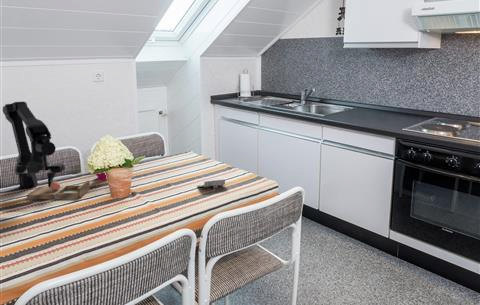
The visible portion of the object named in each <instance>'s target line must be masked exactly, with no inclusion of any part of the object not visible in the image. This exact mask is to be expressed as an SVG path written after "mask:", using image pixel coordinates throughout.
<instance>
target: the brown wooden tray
mask: <svg viewBox="0 0 480 305" xmlns="http://www.w3.org/2000/svg"><path fill="white" fill-rule="evenodd" d="M90 190H91V188H90V180H86V181H85V182H84V183H82V184H81V185H79V184H78V185H76V184H75V185H65V186H60V188H59V189H58V190H56V191H54V190H52V189H51V188H49V186H39V187H36V188H35V189H34V190H32V191H30V192H29V193H27V194H26V199H27V200H63V199H64V200H65V199H67V200H72V199H74V200H76V199H82V198H83V197H84V196H86V195H87V194H88V192H90Z"/></svg>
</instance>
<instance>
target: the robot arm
mask: <svg viewBox="0 0 480 305" xmlns="http://www.w3.org/2000/svg"><path fill="white" fill-rule="evenodd" d="M2 113H3V115H4V116H5V119H6V120H7V121H8V122H9V123H10V124H11V127H12V131H13V135H14V139H15V144H16V148H17V152H18V155H17V158H16V160H15V161H16V165H15V168H14V173H15V176H18V181H19V186H17V188H18V189H32V188H34V189H36V188H37V185H39V183H38V176H37V174H38V173H39V172H40V171H48V172H46V176H47V185H48V186H47V187H49V188H50V185H51V183H52V182H54V178H55V176H56V174H58V173H62V172H63V171H65V170H66V167H65V166H66V165H64V163H54V164H52V165H50V163H49V162H48V156H51V155H53V154H54V153H55V152H56V148H57V147H56V146H55V144H54V143H53V142H52V141H51V139H52V134H51V132H50V130H49V128H48V126H47V125H46V123H44V122H43V121H42V120H40V119H38V118H36V116H35V115H34V114H33V112H32V111H31V109H30V108H29V107H28V103H27V102H26V101H14V102H12V103H5V105H4V106H2ZM28 139H29V142H30V146H29V142H28ZM30 148H31V150H30Z"/></svg>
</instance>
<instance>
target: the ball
mask: <svg viewBox="0 0 480 305" xmlns="http://www.w3.org/2000/svg"><path fill="white" fill-rule="evenodd" d="M60 187H61V184H60V183H59V182H58V181H52V183H51V185H50V188H51V189H52V190H54V191H56V190H58V189H59V188H60Z"/></svg>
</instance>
